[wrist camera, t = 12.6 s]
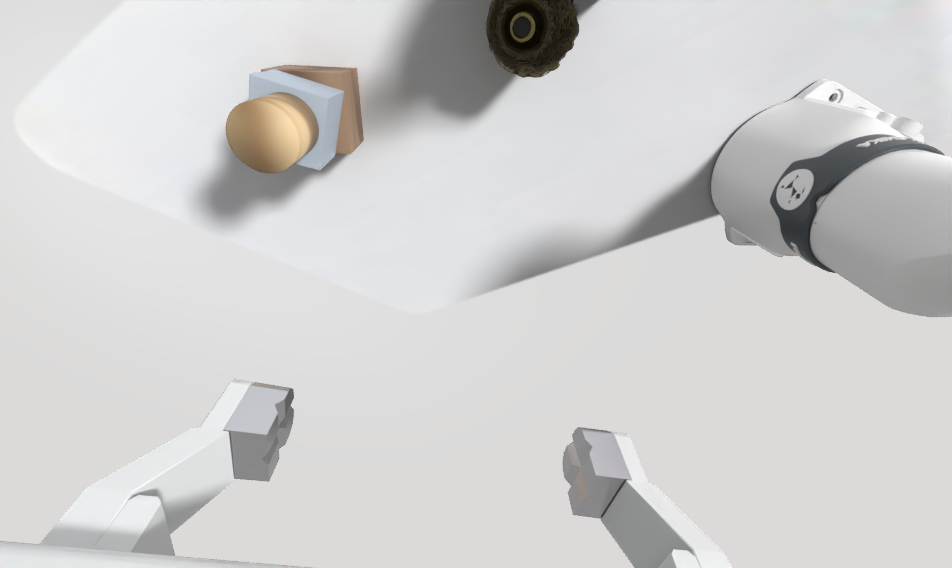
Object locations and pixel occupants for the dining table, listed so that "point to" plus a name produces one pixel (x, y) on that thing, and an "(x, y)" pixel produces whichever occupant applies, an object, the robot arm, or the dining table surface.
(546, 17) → the cup
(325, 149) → the tower top block
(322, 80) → the tower base
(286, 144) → the beech cylinder
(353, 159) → the dining table surface
